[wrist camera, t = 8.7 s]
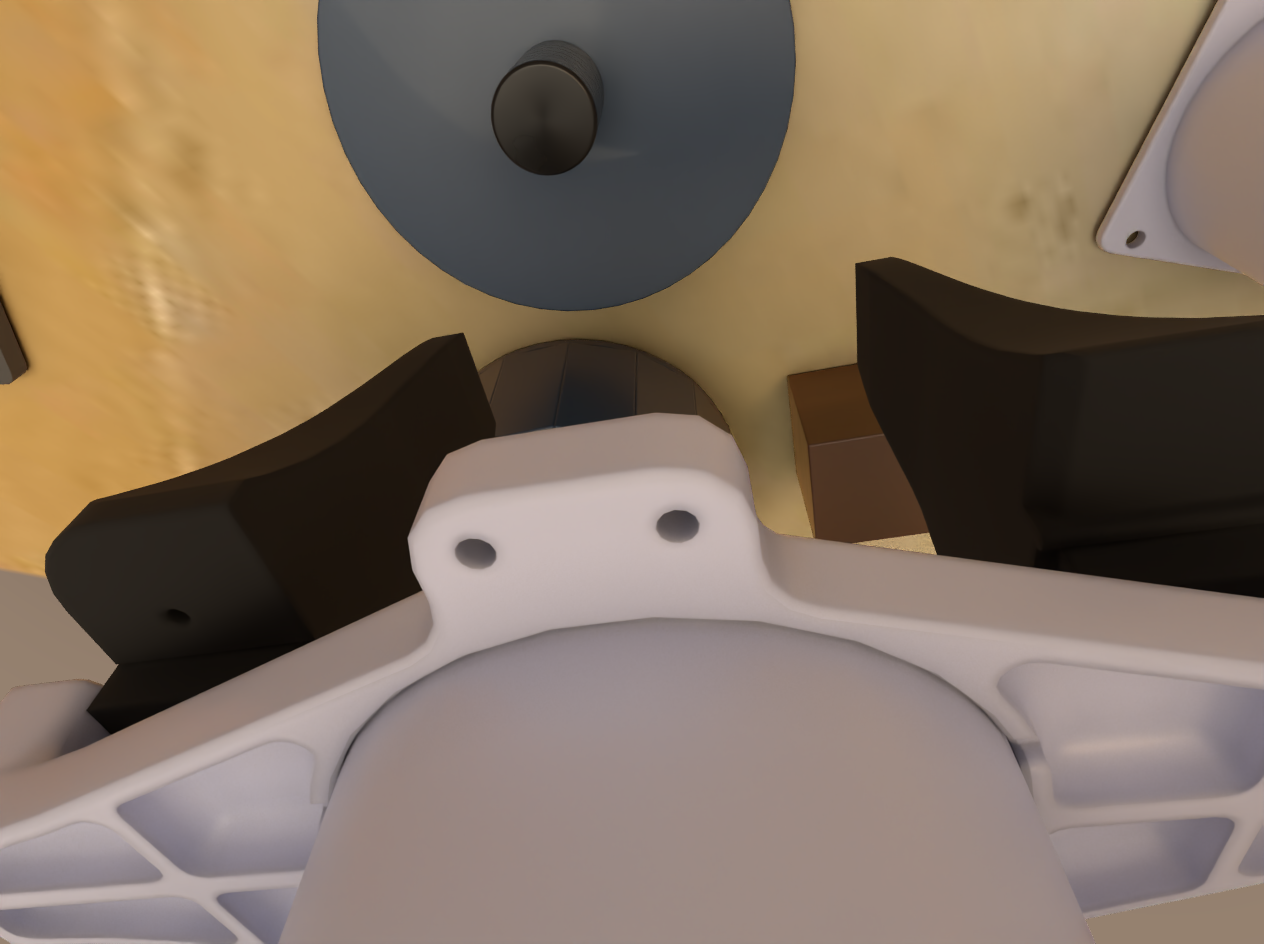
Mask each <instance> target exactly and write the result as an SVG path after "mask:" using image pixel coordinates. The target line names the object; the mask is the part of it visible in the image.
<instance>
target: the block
mask: <svg viewBox="0 0 1264 944" xmlns="http://www.w3.org/2000/svg"><path fill="white" fill-rule="evenodd" d="M787 382H788V393H789V403H790V413H791V424H792V434H793V444H794V455H795V465H796V473H797V477H798V481H799V485H800V488H801V492H802V496H803V500H804V503H805V507H806V511H807V515H808V518H809V522H810V526H811V530H812V533H813V537H814V539H821V540H829V541H836V542H844V543H857V542H864V541H872V540H879V539H886V538H893V537H900V536H908V535H915V534H922V533H929V530H928V527H927V525H926V522H925V519H924V516H923V513H922V510H921V508H920V506H919V503H918V501H917V499H916V497H915V494H914V492H913V490H912V488H911V486H910V484H909V482H908V480H907V478H906V476H905V474H904V472H903V470H902V468H901V466H900V465H899V463H898V461H897V459H896V457H895V455H894V453H893V451H892V449H891V447H890V445H889V443H888V441H887V439H886V437H885V435H884V433H883V431H882V429H881V427H880V425H879V423H878V421H877V419H876V417H875V415H874V413H873V411H872V409H871V407H870V404H869V401H868V398H867V395H866V392H865V389H864V386H863V382H862V379H861V376H860V372H859V369H858V364H854V365H849V366H843V367H837V368H831V369H825V370H819V371H813V372H807V373H801V374H796V375H790V376H788V377H787Z"/></svg>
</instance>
